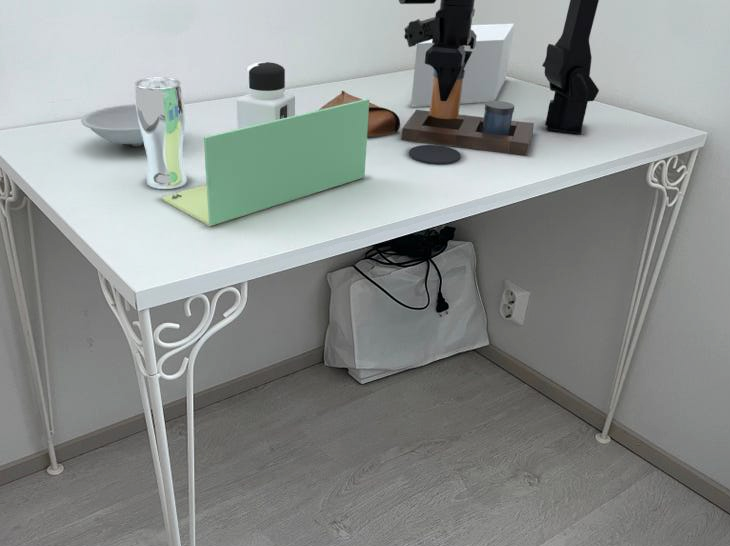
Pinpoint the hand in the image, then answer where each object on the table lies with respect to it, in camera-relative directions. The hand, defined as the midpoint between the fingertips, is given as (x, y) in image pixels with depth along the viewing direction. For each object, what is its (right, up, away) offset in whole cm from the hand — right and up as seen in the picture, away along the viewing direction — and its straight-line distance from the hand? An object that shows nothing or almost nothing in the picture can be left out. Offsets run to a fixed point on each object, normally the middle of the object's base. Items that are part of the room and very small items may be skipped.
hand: (446, 96), depth 136 cm
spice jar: (+9, -8, +2) cm, 12 cm away
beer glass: (-47, -21, -20) cm, 55 cm away
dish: (-55, -11, -6) cm, 56 cm away
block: (+8, +11, +29) cm, 32 cm away
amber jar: (0, -3, +2) cm, 3 cm away
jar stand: (+5, -7, +3) cm, 8 cm away
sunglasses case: (-16, -3, +8) cm, 18 cm away
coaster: (-3, -12, -6) cm, 14 cm away
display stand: (-31, -22, -21) cm, 44 cm away
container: (-33, -9, -2) cm, 34 cm away
